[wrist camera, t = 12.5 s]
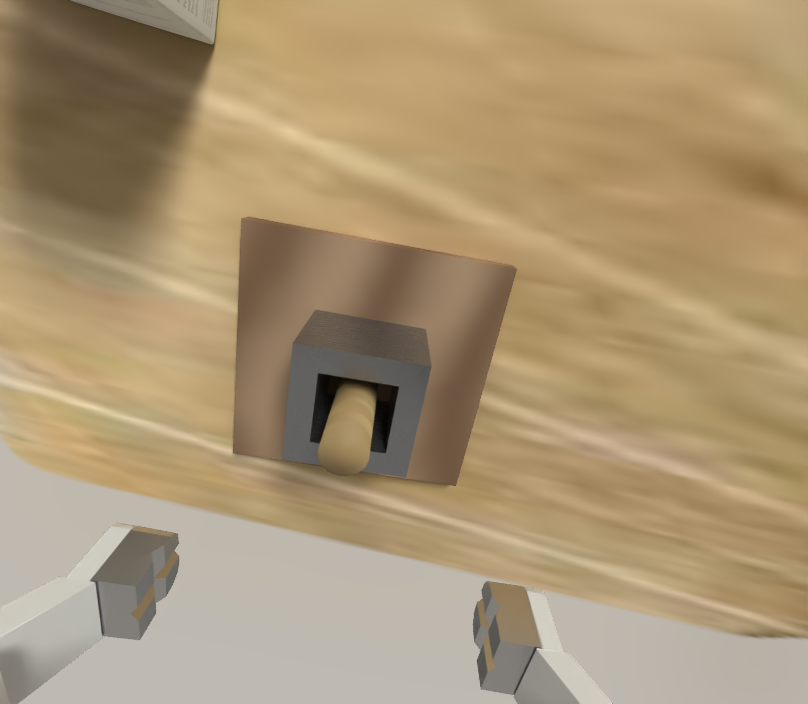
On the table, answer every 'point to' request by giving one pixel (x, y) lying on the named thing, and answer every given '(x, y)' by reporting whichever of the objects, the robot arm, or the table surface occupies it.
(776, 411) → the table surface
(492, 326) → the post board
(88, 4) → the supplement box
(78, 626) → the robot arm
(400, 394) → the collar
